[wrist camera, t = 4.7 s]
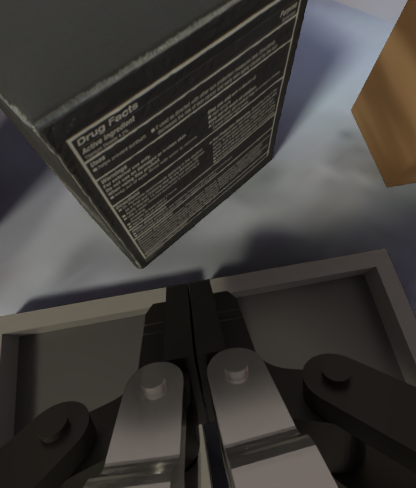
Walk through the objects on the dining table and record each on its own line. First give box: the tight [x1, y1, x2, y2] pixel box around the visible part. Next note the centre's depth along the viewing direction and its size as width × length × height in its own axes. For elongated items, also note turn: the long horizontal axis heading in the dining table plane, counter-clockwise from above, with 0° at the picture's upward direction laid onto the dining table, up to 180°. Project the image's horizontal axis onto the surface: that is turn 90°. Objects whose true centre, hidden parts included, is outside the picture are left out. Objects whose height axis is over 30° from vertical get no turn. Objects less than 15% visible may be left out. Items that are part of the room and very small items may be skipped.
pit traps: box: [0, 248, 416, 488], centre depth 14 cm, size 19×9×2 cm, turn 100°
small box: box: [0, 0, 308, 269], centre depth 14 cm, size 11×6×10 cm, turn 134°
